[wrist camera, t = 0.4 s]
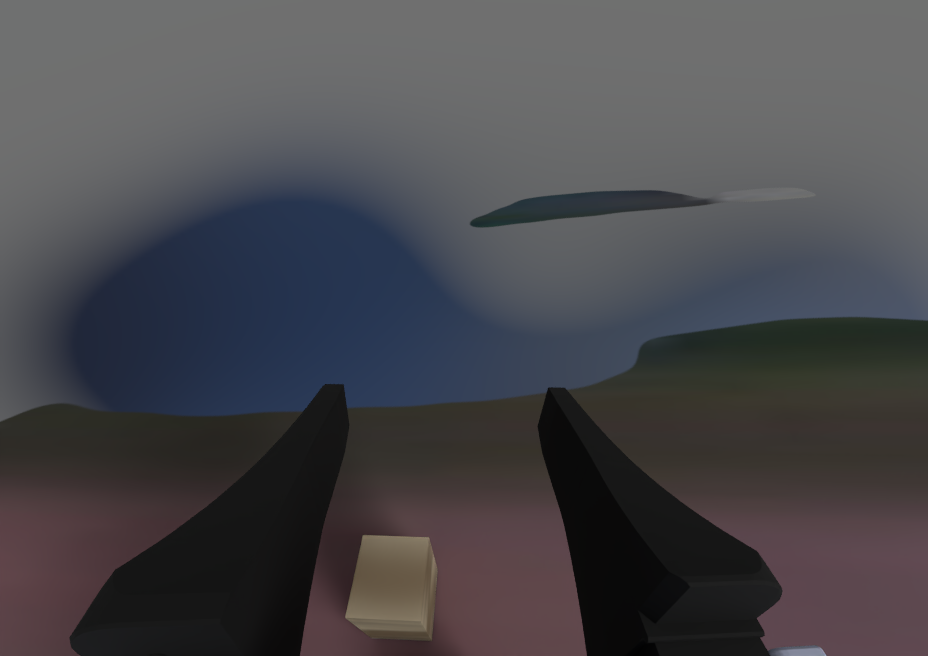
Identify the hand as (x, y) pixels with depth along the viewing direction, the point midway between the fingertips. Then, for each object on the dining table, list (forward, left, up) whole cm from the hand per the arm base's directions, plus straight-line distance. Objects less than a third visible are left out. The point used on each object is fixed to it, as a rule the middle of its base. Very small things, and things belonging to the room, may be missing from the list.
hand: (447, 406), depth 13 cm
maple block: (-2, +4, -20) cm, 21 cm away
